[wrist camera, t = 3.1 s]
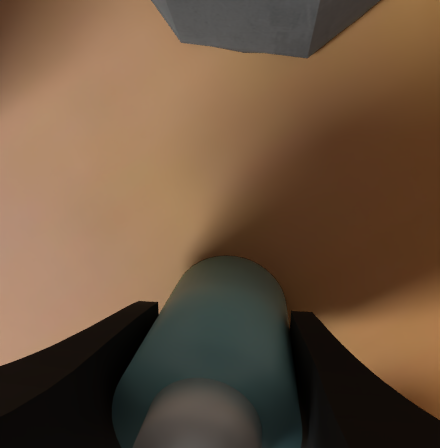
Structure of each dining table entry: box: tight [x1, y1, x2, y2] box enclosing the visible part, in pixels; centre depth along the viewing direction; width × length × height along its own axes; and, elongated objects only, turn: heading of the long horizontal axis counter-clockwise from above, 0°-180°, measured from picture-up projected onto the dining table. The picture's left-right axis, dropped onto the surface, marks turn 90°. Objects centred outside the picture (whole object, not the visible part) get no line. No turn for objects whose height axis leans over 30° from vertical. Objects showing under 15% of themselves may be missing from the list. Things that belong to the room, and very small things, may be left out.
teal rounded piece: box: [112, 256, 302, 448], centre depth 9 cm, size 4×4×6 cm
